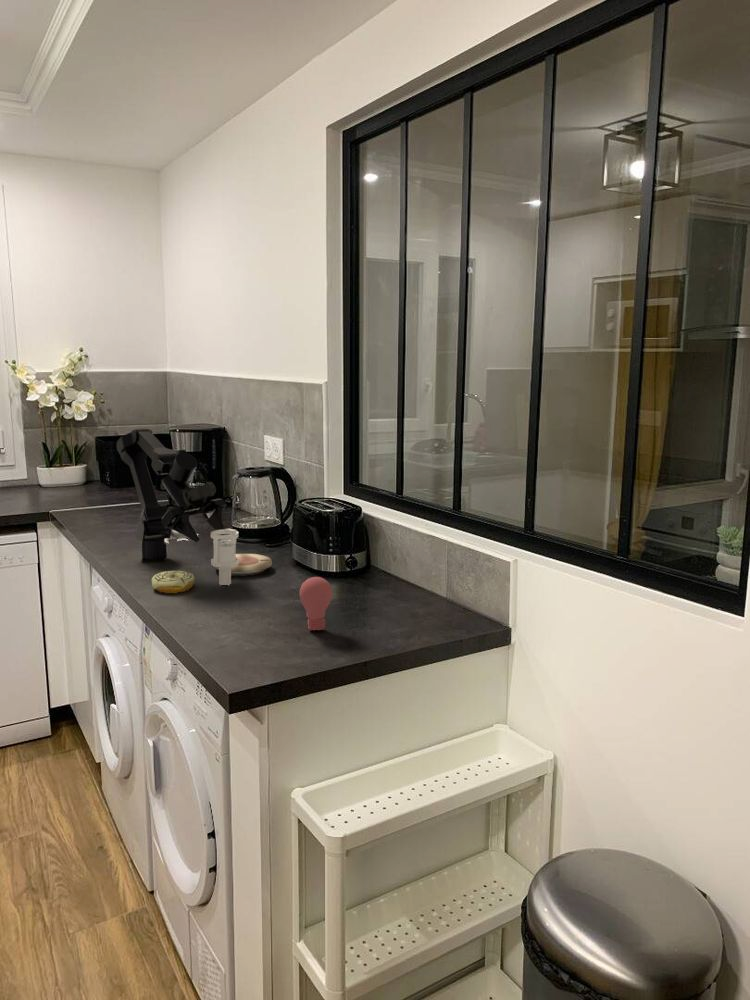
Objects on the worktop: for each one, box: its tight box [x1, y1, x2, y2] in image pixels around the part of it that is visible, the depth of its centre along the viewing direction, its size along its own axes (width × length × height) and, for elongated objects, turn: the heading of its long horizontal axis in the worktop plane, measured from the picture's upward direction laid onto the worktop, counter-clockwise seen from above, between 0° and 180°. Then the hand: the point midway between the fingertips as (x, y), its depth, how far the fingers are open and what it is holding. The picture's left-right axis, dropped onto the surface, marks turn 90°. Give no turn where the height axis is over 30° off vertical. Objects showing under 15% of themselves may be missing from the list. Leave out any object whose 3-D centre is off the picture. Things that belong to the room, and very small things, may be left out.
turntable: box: [213, 553, 273, 572], centre depth 209 cm, size 16×16×1 cm
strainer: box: [210, 528, 239, 586], centre depth 194 cm, size 7×7×15 cm
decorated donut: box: [150, 570, 195, 594], centre depth 191 cm, size 10×11×4 cm
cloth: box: [165, 530, 199, 544], centre depth 246 cm, size 22×19×6 cm
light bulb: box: [299, 576, 333, 631], centre depth 163 cm, size 7×7×12 cm
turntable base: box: [231, 569, 265, 577], centre depth 209 cm, size 12×12×2 cm
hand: (211, 538), depth 196 cm, fingers open, 9 cm apart
